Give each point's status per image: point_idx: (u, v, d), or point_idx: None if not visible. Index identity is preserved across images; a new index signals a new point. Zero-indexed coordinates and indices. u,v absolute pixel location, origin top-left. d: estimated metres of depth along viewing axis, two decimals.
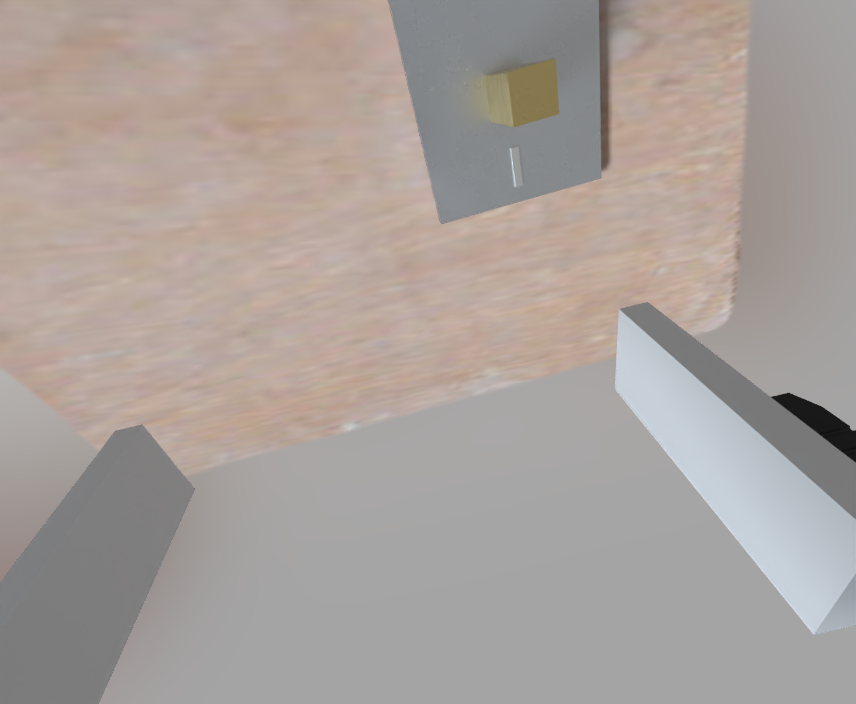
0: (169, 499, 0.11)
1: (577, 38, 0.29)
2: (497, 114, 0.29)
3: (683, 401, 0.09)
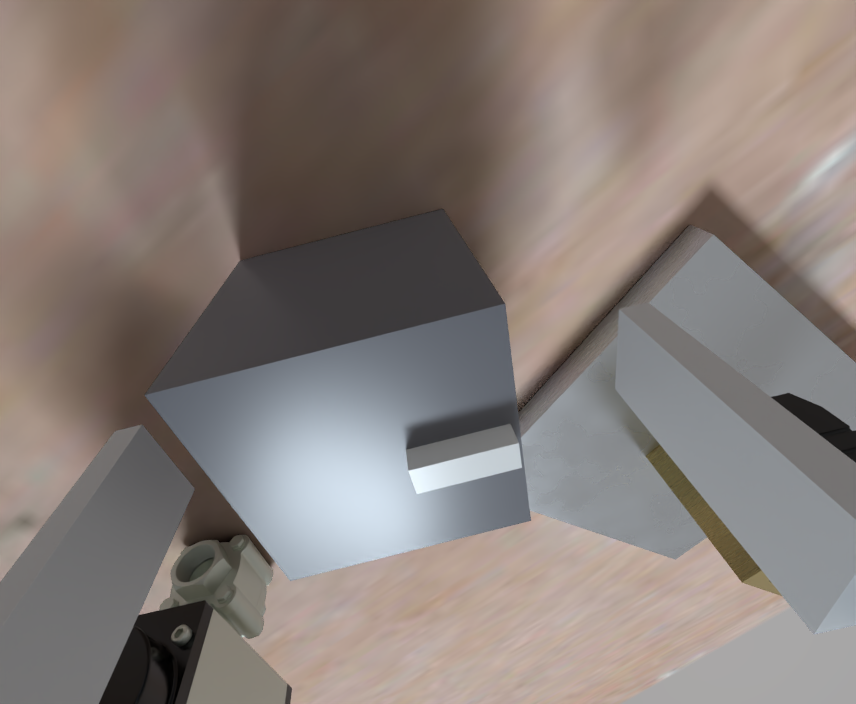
0: (169, 499, 0.11)
1: (764, 342, 0.17)
2: None
3: (683, 401, 0.09)
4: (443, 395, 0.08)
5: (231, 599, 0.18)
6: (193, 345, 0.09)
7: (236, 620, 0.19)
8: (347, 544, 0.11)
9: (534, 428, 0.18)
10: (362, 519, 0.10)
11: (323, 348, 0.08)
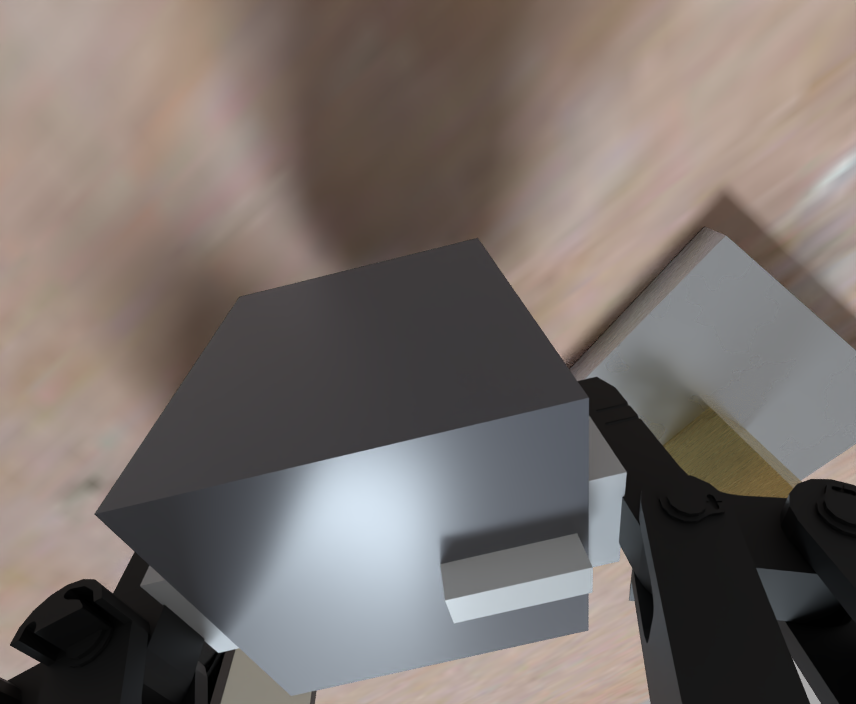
0: None
1: (776, 339, 0.18)
2: None
3: None
4: (494, 505, 0.06)
5: None
6: (169, 428, 0.07)
7: None
8: (361, 659, 0.09)
9: None
10: (381, 635, 0.08)
11: (336, 454, 0.06)
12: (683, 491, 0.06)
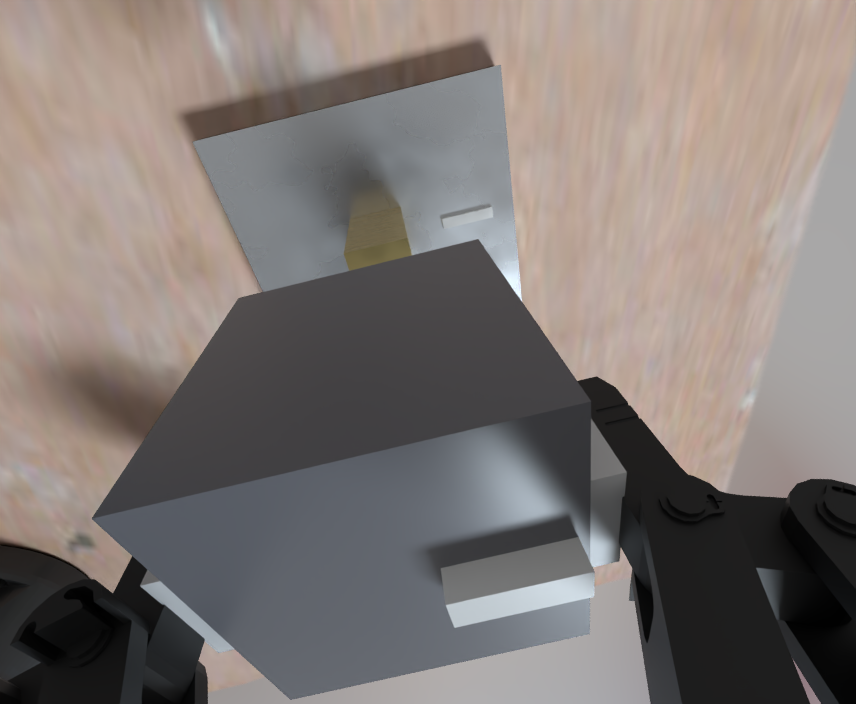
0: None
1: (316, 147, 0.22)
2: None
3: None
4: (495, 509, 0.06)
5: None
6: (168, 431, 0.07)
7: None
8: (361, 663, 0.09)
9: None
10: (380, 638, 0.08)
11: (336, 458, 0.05)
12: (683, 491, 0.06)
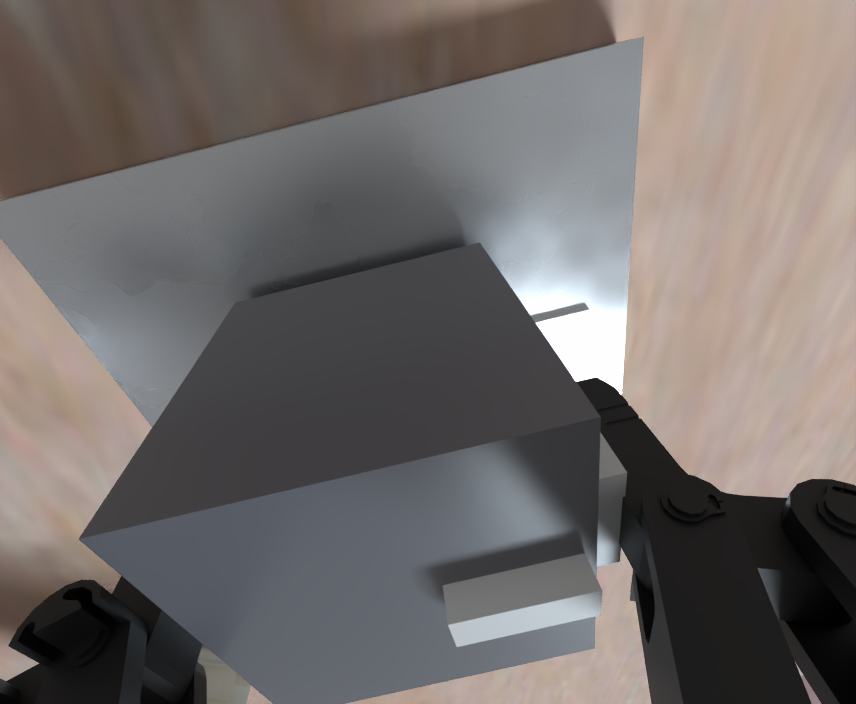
0: None
1: (250, 212, 0.10)
2: None
3: None
4: (499, 526, 0.06)
5: None
6: (160, 444, 0.07)
7: None
8: (360, 680, 0.08)
9: None
10: (380, 656, 0.08)
11: (334, 476, 0.05)
12: (684, 491, 0.06)
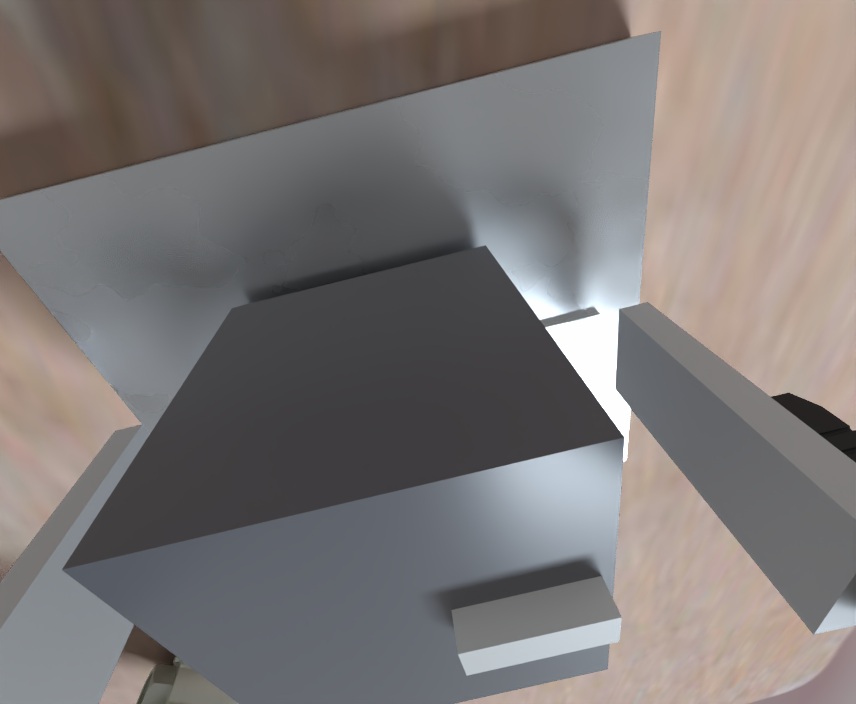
0: None
1: (249, 214, 0.10)
2: None
3: (683, 401, 0.09)
4: (512, 549, 0.06)
5: None
6: (151, 462, 0.06)
7: None
8: (363, 703, 0.08)
9: None
10: (385, 680, 0.08)
11: (337, 501, 0.05)
12: None
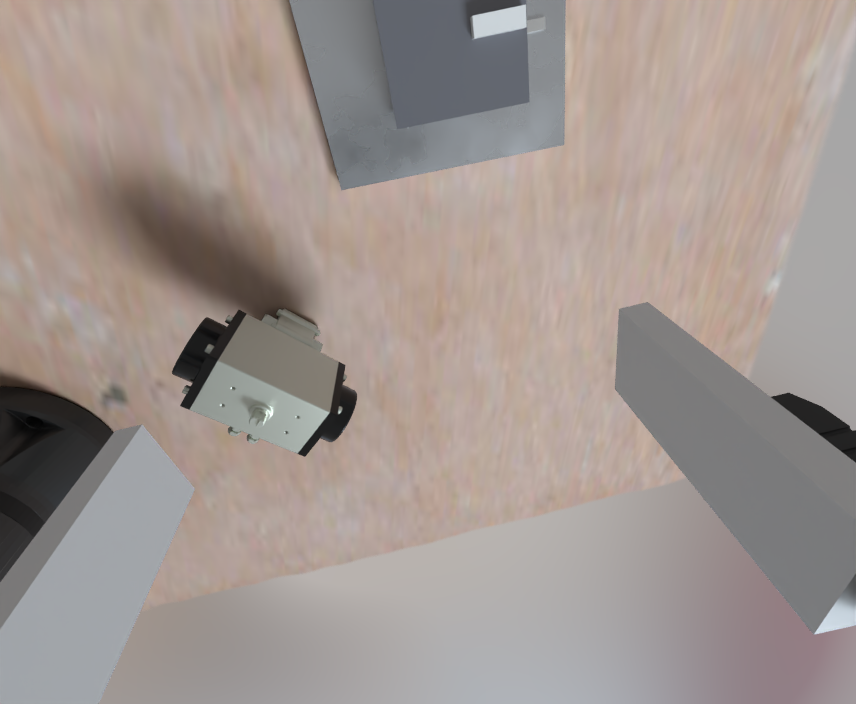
0: (169, 499, 0.11)
1: None
2: None
3: (683, 400, 0.09)
4: None
5: (276, 325, 0.32)
6: None
7: None
8: (431, 99, 0.20)
9: (325, 119, 0.27)
10: (442, 76, 0.20)
11: None
12: None
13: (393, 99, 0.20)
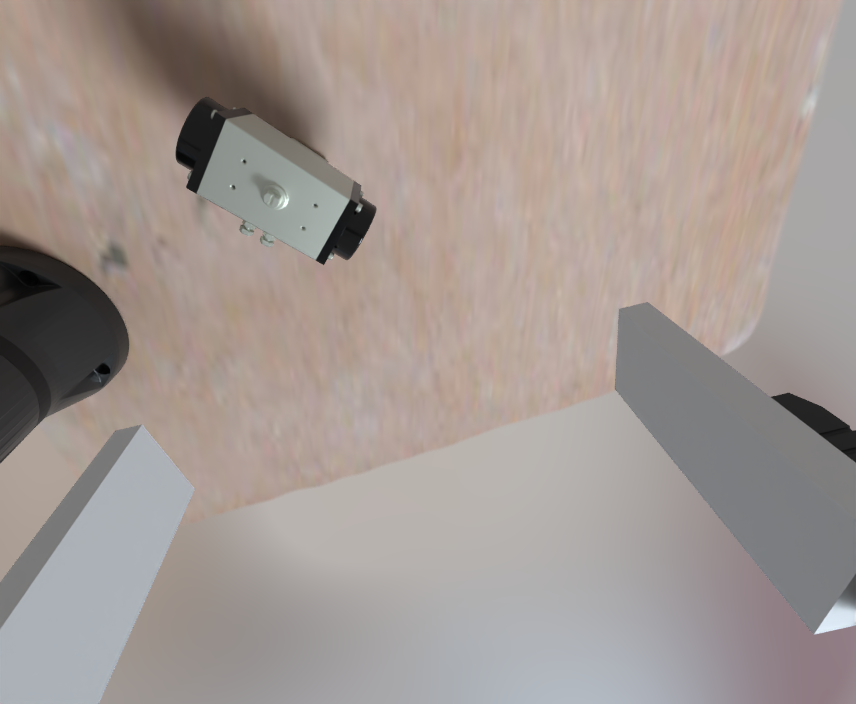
0: (169, 499, 0.11)
1: None
2: None
3: (683, 400, 0.09)
4: None
5: None
6: None
7: None
8: None
9: None
10: None
11: None
12: None
13: None
